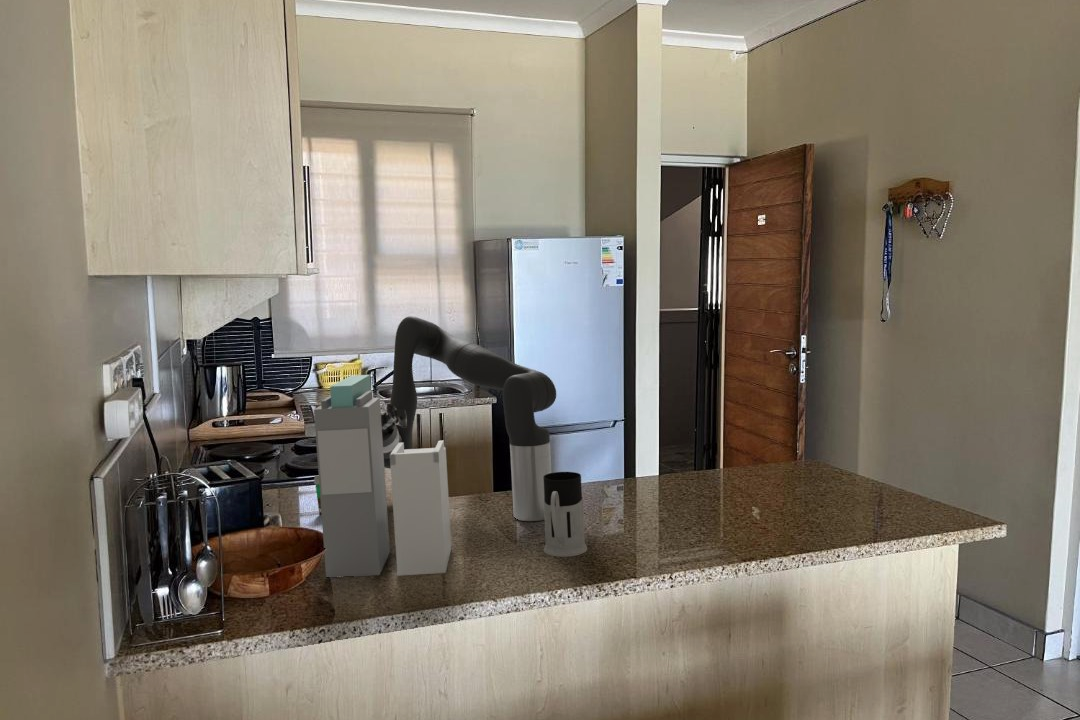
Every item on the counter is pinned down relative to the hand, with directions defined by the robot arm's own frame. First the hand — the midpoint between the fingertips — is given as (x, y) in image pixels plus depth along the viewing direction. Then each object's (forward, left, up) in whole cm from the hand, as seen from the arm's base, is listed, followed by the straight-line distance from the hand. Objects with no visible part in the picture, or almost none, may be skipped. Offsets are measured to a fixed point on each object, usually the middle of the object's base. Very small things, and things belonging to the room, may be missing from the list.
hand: (369, 407), depth 178 cm
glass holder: (-40, +22, -28) cm, 54 cm away
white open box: (-13, +22, -28) cm, 38 cm away
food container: (+13, -22, -28) cm, 38 cm away
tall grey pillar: (0, +22, -28) cm, 36 cm away
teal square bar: (0, +17, +4) cm, 18 cm away
